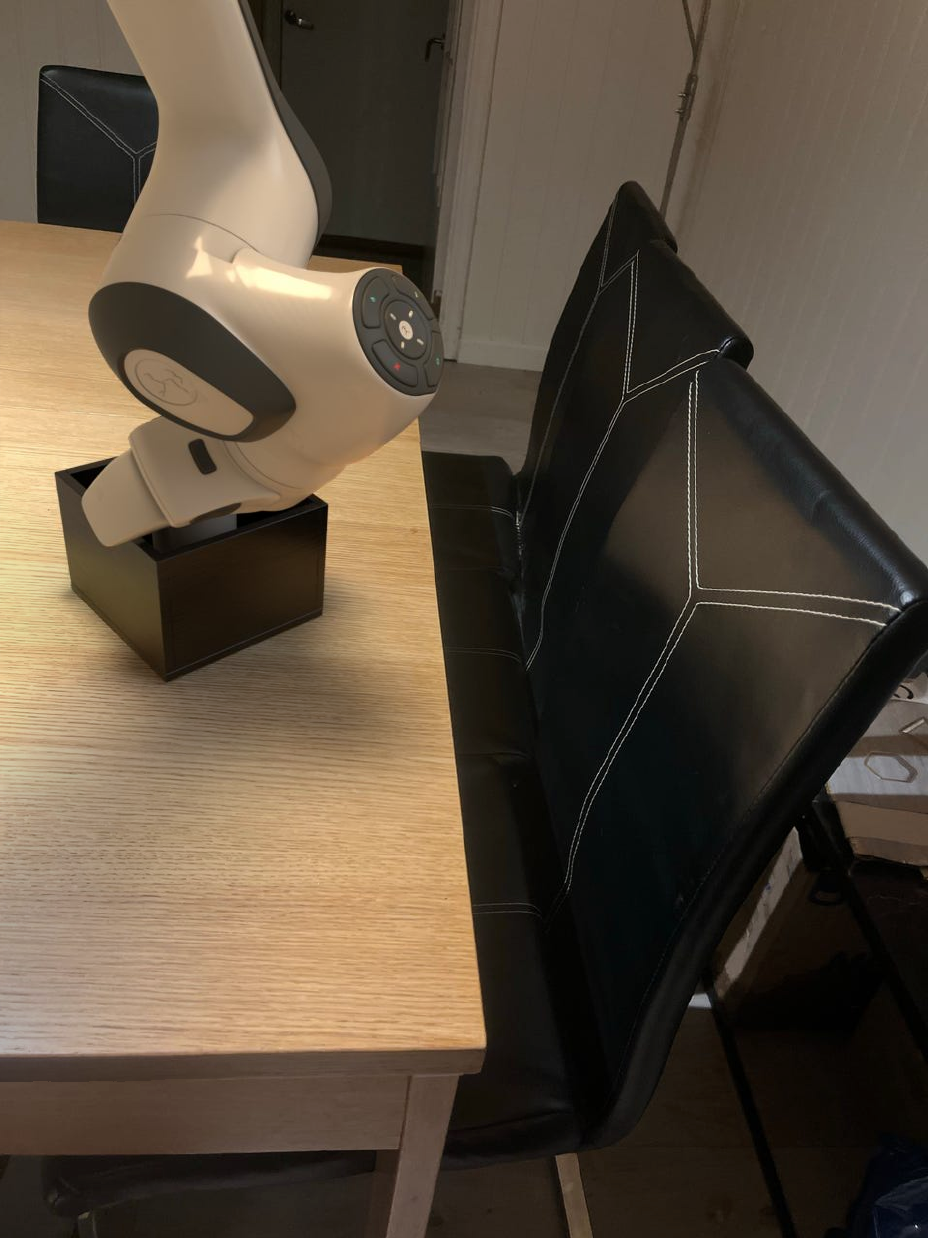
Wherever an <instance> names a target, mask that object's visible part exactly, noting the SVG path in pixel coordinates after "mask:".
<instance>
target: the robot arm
mask: <svg viewBox="0 0 928 1238" xmlns="http://www.w3.org/2000/svg"><path fill="white" fill-rule="evenodd" d="M106 2H107V4H108V6H109V8H110V11H111V12H112V14H113V16H114V19H115V21H116V22H117V24H118V26H119V28H120V30H121V33H122V34H123V36H124V38H125V40H126V42H127V44H128V47H129V48H130V50H131V52H132V54H133V57H134V58H135V61H136V62H137V64H138V66H139V68H140V70H141V72H142V74H143V76H144V78H145V80H146V82H147V84H148V86H149V88H150V90H151V93H152V94H153V97H154V98H155V101H156V105H157V110H158V133H157V140H156V147H155V152H154V156H153V160H152V164H151V167H150V171H149V174H148V176H147V179H146V180H145V183H144V186H143V187H142V189H141V192H140V193H139V196H138V199H137V200H136V202H135V205H134V207H133V209H132V212H131V214H130V215H129V218H128V220H127V222H126V224H125V226H124V229H123V231H122V233H121V235H119V237H118V238H117V239H118V240H117V242H116V244H115V247H114V249H113V250H112V252H111V254H110V256H109V258H108V261H107V263H106V265H105V268H104V270H103V273H102V275H101V276H100V279H99V281H98V284H97V287H96V289H95V292H94V294H93V296H92V298H91V299H90V301H89V304H88V308H87V309H88V310H87V316H88V323H89V328H90V331H91V334H92V336H93V339H94V341H95V344H96V346H97V348H98V350H99V352H100V354H101V356H102V357H103V360H104V361H105V362H106V364H107V365H108V367H109V368H110V370H111V371H112V372H113V373H114V375H115V377H117V379H118V380H119V381H120V382H121V384H122V385H123V386H124V387H125V388H126V389H127V391H129V393H131V395H132V396H133V397H134V398H136V400H137V401H139V402H140V403H141V404H143V405H144V406H146V407H147V408H149V409H150V410H151V411H153V412H155V414H158V415H159V416H157V417H155V418H153V419H151V420H148V421H146V422H144V423H142V424H139V425H138V426H136V427H135V428H134V429H133V430H132V431H131V432H130V433H129V435H127V436H128V437H127V440H128V443H129V446H130V448H129V449H127V450H125V451H124V452H122V453H121V454H119V455H117V456H118V457H117V458H115V459H114V460H113V461H112V462H111V463H110V464H109V465H107V466H106V468H105V469H104V470H103V471H102V472H101V473H100V474H99V475H98V477H97V478H96V479H95V480H94V481H93V483H92V484H91V485H90V486H89V488H88V489H87V490H86V492H85V493H84V495H83V497H82V506H83V510H84V512H85V515H86V517H87V519H88V521H89V523H90V525H91V527H92V529H93V531H94V533H95V534H96V536H97V538H98V539H99V541H100V542H101V543H102V544H103V545H104V546H107V547H114V546H118V545H121V544H123V543H125V542H128V541H130V540H133V539H136V538H139V537H142V536H144V535H147V534H150V533H153V532H156V531H159V530H161V529H164V528H167V527H170V526H172V527H175V528H179V527H183V526H186V525H189V524H195V523H199V522H202V521H206V520H209V519H213V518H217V517H222V516H226V515H228V514H237V513H250V512H257V511H261V510H263V511H278V510H284V509H287V508H290V507H292V506H294V505H296V504H298V503H299V502H301V501H302V500H304V499H305V498H307V497H308V496H310V495H311V494H315V493H316V492H317V491H319V490H320V489H322V488H323V487H324V486H326V485H327V484H329V483H330V482H332V481H333V480H335V479H336V478H337V477H338V476H339V475H340V474H341V473H343V471H344V470H345V469H346V467H347V466H348V465H351V464H356V463H358V462H360V461H362V460H365V459H366V458H368V457H369V456H371V455H373V454H374V453H376V452H377V451H378V450H380V449H381V448H383V447H384V446H386V445H387V444H388V443H390V442H391V441H392V440H394V439H395V438H396V437H397V436H399V435H400V434H401V433H402V432H404V431H405V430H406V429H407V428H408V427H409V426H410V425H412V424H413V423H414V422H415V421H416V419H418V417H419V416H420V415H421V414H422V413H423V412H424V411H425V410H426V408H427V407H428V406H429V404H430V403H431V402H432V400H433V399H434V397H435V396H436V394H437V393H438V390H439V388H440V384H441V382H442V377H443V371H444V362H445V351H444V350H445V349H444V341H443V336H442V331H441V328H440V325H439V322H438V319H437V317H436V315H435V313H434V311H433V309H432V307H431V305H430V303H429V301H428V300H427V299H426V297H425V296H424V293H422V292H421V290H420V289H419V288H418V287H417V286H416V285H415V284H414V283H413V282H412V281H411V280H410V279H409V278H408V277H406V276H405V275H404V274H402V273H400V272H398V271H396V270H394V269H392V268H388V267H384V266H372V267H367V268H363V269H358V270H354V271H349V272H348V271H347V272H331V271H320V270H312V269H307V267H308V265H309V262H310V261H311V258H313V254H314V252H315V250H316V248H317V246H318V244H319V242H320V240H321V238H322V235H323V233H324V231H325V229H326V226H327V224H328V223H329V220H330V217H331V212H332V206H333V191H332V183H331V179H330V176H329V172H328V170H327V166H326V165H325V162H324V160H323V158H322V156H321V153H320V152H319V150H318V148H317V147H316V145H315V143H314V142H313V140H312V139H311V136H310V135H309V134H308V132H307V131H306V129H305V127H304V126H303V125H302V123H301V121H300V120H299V119H298V117H297V116H296V114H295V112H294V111H293V109H292V108H291V106H290V105H289V103H288V101H287V99H286V98H285V96H284V94H283V93H282V90H281V89H280V86H279V84H278V82H277V80H276V77H275V75H274V73H273V71H272V68H271V65H270V63H269V61H268V57H267V54H266V51H265V48H264V46H263V42H262V40H261V37H260V34H259V31H258V27H257V25H256V22H255V19H254V16H253V13H252V10H251V7H250V5H249V2H248V0H106Z"/></svg>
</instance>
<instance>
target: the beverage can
mask: <svg viewBox="0 0 928 1238" xmlns="http://www.w3.org/2000/svg"><path fill="white" fill-rule="evenodd" d="M234 529H237V522H236V514H228V515H226V516H222V517H217V518H213V519H209V520H206V521H202V522H199V523H195V524H189V525H186V526H183V527H179V528H175V527H172V526H170V527H167V528H164V529H161V530H159V531H156V532H153V533H152V537H153V547H154V548H155V549H156V550H157V551H158V552H159V553H161V554H162V553H165V552H168V551H171V550H174V549H177V548H180V547H183V546H186V545H189V544H192V543H195V542H198V541H201V540H204V539H207V538H210V537H213V536H216V535H219V534H222V533H225V532H228V531H231V530H234Z"/></svg>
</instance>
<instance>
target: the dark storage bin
mask: <svg viewBox="0 0 928 1238" xmlns="http://www.w3.org/2000/svg"><path fill="white" fill-rule="evenodd" d="M118 456H119V455H117V456H116V455H115V456H113V457H109V458H108V457H107V458H104V459H100V460H97V461H96V460H95V461H93V462H89V463H84V464H80V465H77V466H73V467H68V468H65V469H61V470H58V471H54V479H55V481H54V482H55V487H56V493H57V500H58V507H59V514H60V518H61V519H60V520H61V526H62V533H63V540H64V546H65V554H66V560H67V566H68V572H69V573H68V574H69V580H70V586H71V589H72V590H73V591H74V593H76V594H77V596H79V597H80V598H81V599H82V600H83V602H85V603H86V605H88V606H89V607H90V608H91V610H93V612H94V613H96V615H97V616H99V617H100V618H101V619H102V620H103V622H105V623H106V625H108V626H109V627H110V628H111V629H112V630H113V631H114V632H115V633H116V634H117V635H118V637H120V638H121V639H122V640H123V641H124V642H125V643H126V644H127V645H128V646H129V647H130V648H131V649H132V650H133V651H134V652H135V653H136V654H137V655H138V657H140V658H141V659H142V660H143V661H144V662H145V663H146V664H147V665H148V666H149V667H150V668H151V669H152V670H153V671H154V672H155V673H156V674H157V675H158V676H159V677H160V678H161V680H163V681H164V682H165V683H169V682H172V681H174V680H176V679H178V678H180V677H183V676H186V675H188V674H190V673H193V672H195V671H197V670H200V669H202V668H205V667H207V666H209V665H212V664H213V663H216V662H218V661H220V660H222V659H224V658H227V657H229V656H231V655H234V654H235V653H238V652H240V651H243V650H245V649H248V648H250V647H252V646H255V645H256V644H259V643H262V642H264V641H266V640H269V639H271V638H273V637H276V636H278V635H280V634H283V633H284V632H287V631H289V630H292V629H294V628H296V627H298V626H301V625H303V624H306V623H308V622H310V621H312V620H315V619H317V618H319V617H321V616H323V613H324V597H325V581H326V580H325V579H326V577H325V576H326V558H327V541H328V540H327V539H328V523H329V503H328V502H327V501H325V500H324V499H322V498H320V497H319V496H317V495H316V494H315V493H313V494H311V495H310V496H308V497H307V498H305V499H304V500H302V501H301V502H299V503H298V504H296V505H294V506H292V507H290V508H287V509H284V510H278V511H263V510H261V511H257V512H250V513H237V514H236V522H237V529H234V530H231V531H228V532H225V533H222V534H219V535H216V536H213V537H210V538H207V539H204V540H201V541H198V542H195V543H192V544H189V545H186V546H183V547H180V548H177V549H174V550H171V551H168V552H165V553H162V554H161V553H159V552H158V551H157V550H156V549H155V548H154V547H153V537H152V533H150V534H147V535H144V536H142V537H139V538H136V539H133V540H130V541H128V542H125V543H123V544H121V545H118V546H114V547H107V546H104V545H103V544H102V543H101V542H100V541H99V539H98V538H97V536H96V534H95V533H94V531H93V529H92V527H91V525H90V523H89V521H88V519H87V517H86V515H85V512H84V510H83V506H82V497H83V495H84V493H85V492H86V490H87V489H88V488H89V486H90V485H91V484H92V483H93V481H94V480H95V479H96V478H97V477H98V475H99V474H100V473H101V472H102V471H103V470H104V469H105V468H106V466H107V465H109V464H110V463H111V462H112V461H113V460H114V459H115V458H117V457H118Z"/></svg>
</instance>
